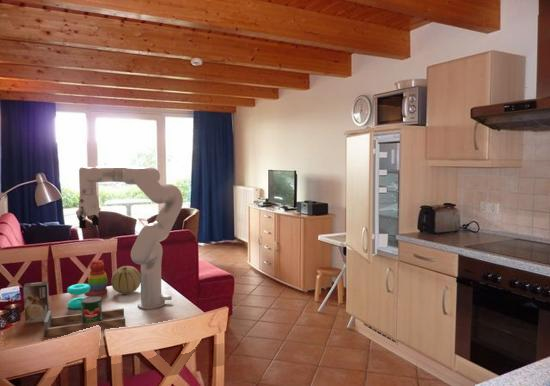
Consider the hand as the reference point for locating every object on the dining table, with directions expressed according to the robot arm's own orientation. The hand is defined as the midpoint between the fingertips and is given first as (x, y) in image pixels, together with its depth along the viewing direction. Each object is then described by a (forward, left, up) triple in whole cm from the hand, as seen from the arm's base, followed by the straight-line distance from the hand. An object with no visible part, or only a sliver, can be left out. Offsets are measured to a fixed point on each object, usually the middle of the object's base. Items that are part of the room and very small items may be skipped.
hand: (89, 226), depth 201 cm
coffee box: (+21, +18, -38) cm, 47 cm away
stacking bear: (-3, -12, -38) cm, 39 cm away
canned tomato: (-1, +33, -38) cm, 50 cm away
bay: (+1, +33, -37) cm, 50 cm away
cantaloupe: (-17, -6, -38) cm, 42 cm away
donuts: (+5, +6, -38) cm, 38 cm away
